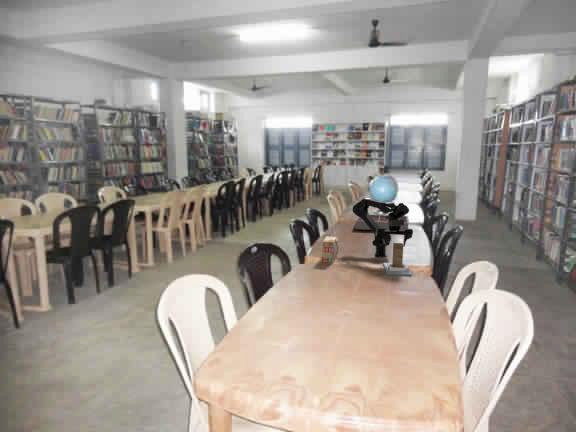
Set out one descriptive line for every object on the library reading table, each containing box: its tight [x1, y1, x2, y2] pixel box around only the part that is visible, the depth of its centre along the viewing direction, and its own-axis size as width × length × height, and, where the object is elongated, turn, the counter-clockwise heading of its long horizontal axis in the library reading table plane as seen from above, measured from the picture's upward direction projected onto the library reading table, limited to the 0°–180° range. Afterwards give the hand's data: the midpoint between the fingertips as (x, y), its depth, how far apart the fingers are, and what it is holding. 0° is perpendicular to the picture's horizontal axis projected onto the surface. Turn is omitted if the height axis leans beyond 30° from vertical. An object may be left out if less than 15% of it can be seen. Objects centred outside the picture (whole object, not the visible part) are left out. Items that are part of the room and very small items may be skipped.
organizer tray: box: [354, 214, 410, 231], centre depth 309 cm, size 32×40×10 cm
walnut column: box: [391, 242, 404, 268], centre depth 201 cm, size 4×4×13 cm
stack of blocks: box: [322, 235, 339, 264], centre depth 225 cm, size 21×6×12 cm, turn 166°
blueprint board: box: [383, 262, 413, 277], centre depth 203 cm, size 18×12×2 cm, turn 172°
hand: (395, 246), depth 208 cm, fingers open, 9 cm apart
